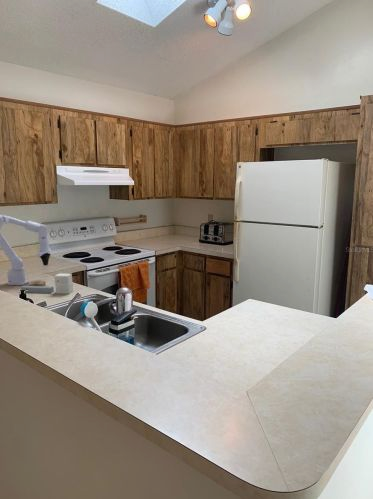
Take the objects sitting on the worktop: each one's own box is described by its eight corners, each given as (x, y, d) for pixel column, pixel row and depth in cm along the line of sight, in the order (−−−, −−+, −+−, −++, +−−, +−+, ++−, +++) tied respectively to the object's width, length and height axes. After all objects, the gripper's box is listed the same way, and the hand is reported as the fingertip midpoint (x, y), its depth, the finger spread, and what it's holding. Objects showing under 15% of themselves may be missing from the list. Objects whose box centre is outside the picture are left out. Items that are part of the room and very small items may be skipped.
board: (21, 292, 217) (20, 287, 216) (24, 290, 220) (23, 285, 219) (51, 293, 215) (50, 288, 214) (53, 291, 218) (53, 286, 217)
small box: (73, 291, 218) (72, 273, 216) (69, 294, 213) (68, 276, 211) (60, 290, 219) (58, 273, 217) (55, 293, 214) (54, 275, 211)
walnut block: (28, 291, 220) (27, 284, 219) (32, 288, 226) (31, 281, 225) (42, 290, 220) (42, 284, 219) (45, 287, 226) (45, 281, 225)
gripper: (44, 246, 229) (46, 268, 231) (55, 242, 243) (56, 262, 245) (33, 246, 229) (35, 267, 232) (44, 241, 244) (46, 262, 246)
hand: (45, 265), depth 239 cm, fingers closed
